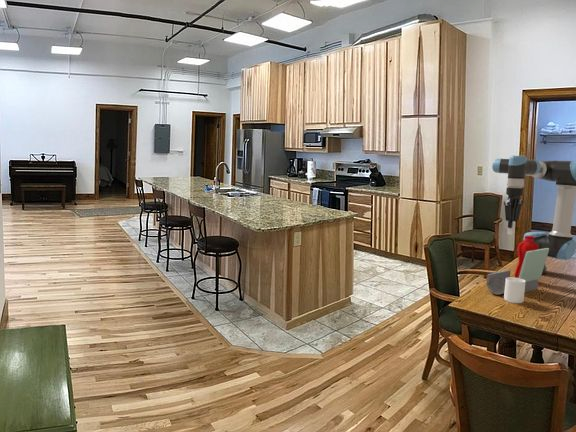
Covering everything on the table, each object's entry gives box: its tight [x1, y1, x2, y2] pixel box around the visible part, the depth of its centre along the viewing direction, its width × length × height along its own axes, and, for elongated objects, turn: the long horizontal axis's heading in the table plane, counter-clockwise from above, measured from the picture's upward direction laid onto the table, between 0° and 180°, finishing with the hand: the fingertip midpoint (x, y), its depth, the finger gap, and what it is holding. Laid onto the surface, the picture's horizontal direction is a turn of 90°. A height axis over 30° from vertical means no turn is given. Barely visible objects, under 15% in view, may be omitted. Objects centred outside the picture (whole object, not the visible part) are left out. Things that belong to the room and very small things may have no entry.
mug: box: [487, 278, 505, 295], centre depth 220 cm, size 10×8×10 cm
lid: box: [519, 248, 549, 282], centre depth 219 cm, size 18×16×1 cm
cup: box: [503, 276, 526, 304], centre depth 211 cm, size 8×12×10 cm
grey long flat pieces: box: [485, 269, 539, 293], centre depth 230 cm, size 18×16×6 cm
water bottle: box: [513, 236, 539, 278], centre depth 241 cm, size 9×11×25 cm
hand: (510, 234), depth 223 cm, fingers closed
